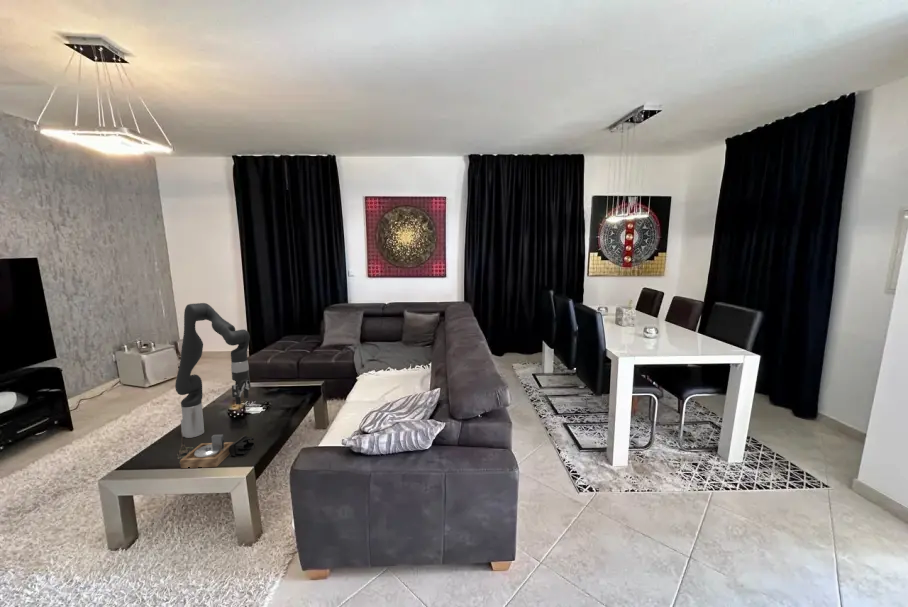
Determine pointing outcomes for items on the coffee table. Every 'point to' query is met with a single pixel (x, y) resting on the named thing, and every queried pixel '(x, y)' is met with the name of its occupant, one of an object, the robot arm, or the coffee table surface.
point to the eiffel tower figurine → (183, 449)
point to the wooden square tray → (205, 462)
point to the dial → (211, 448)
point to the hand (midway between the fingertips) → (242, 400)
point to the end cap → (241, 446)
